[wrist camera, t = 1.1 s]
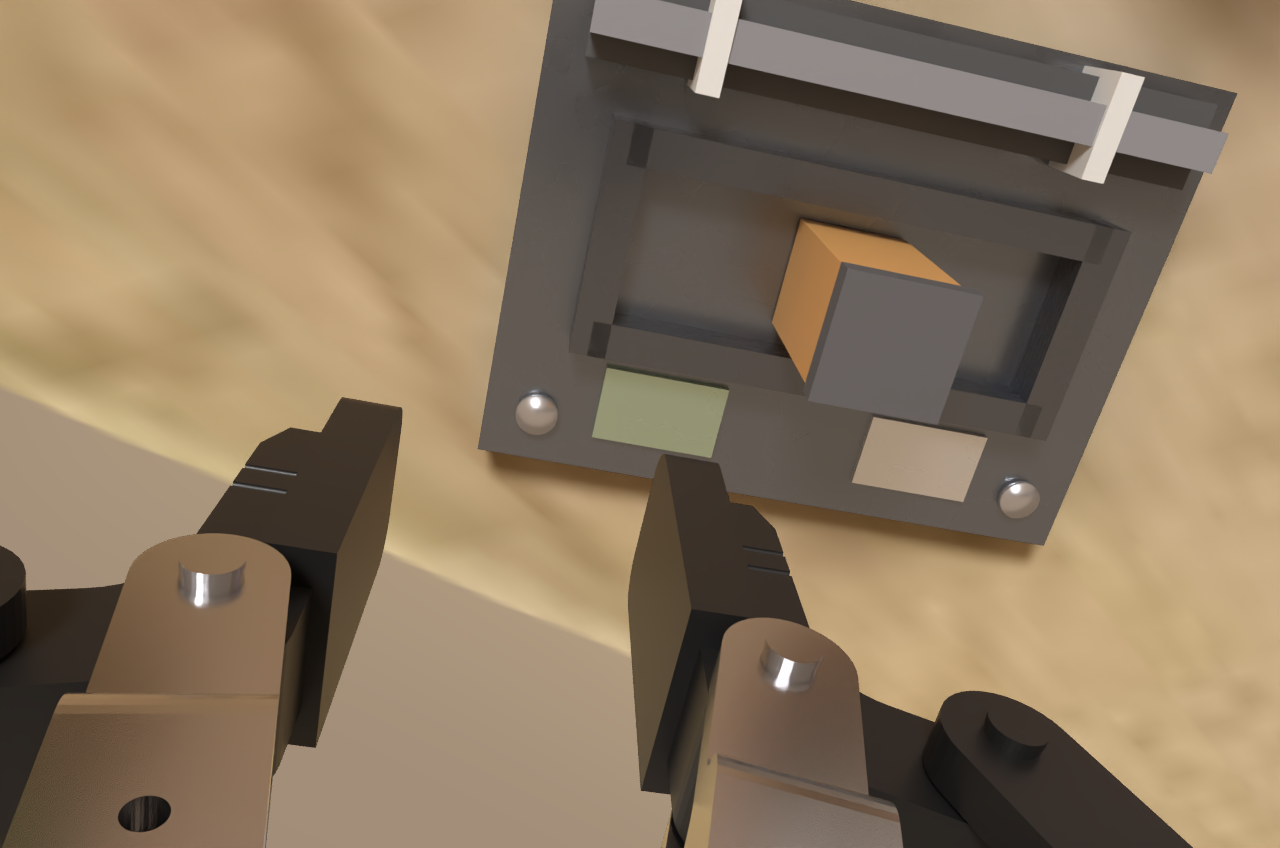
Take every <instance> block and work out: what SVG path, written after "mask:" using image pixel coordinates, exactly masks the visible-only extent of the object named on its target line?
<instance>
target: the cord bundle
mask: <svg viewBox="0 0 1280 848" xmlns="http://www.w3.org/2000/svg"><path fill="white" fill-rule="evenodd" d="M585 56H587V57H591V58H596V59H600V60H605V61H609V62H613V63H618V64H622V65H627V66H631V67H636V68H640V69H645V70H649V71H654V72H658V73H662V74H667V75H671V76H676V77H680V78H685V79H688V83H687V85H688V86H689V87H690V88H691V89H692V90H693V91H694V92H695V93H698V94H702V95H707V96H711V97H716V98H719V97H720V93H721V89H722V87H725V88H729V89H734V90H738V91H743V92H747V93H751V94H756V95H760V96H765V97H769V98H774V99H778V100H783V101H787V102H791V103H796V104H800V105H805V106H809V107H814V108H818V109H823V110H827V111H831V112H836V113H840V114H845V115H849V116H854V117H858V118H863V119H867V120H872V121H876V122H880V123H885V124H889V125H894V126H898V127H903V128H907V129H912V130H916V131H920V132H925V133H929V134H934V135H938V136H943V137H947V138H952V139H956V140H961V141H965V142H969V143H974V144H978V145H983V146H987V147H992V148H996V149H1001V150H1005V151H1009V152H1014V153H1018V154H1023V155H1027V156H1032V157H1036V158H1041V159H1045V160H1050V161H1049V164H1048V166H1050V167H1053V168H1055V169H1058V170H1060V171H1063V172H1065V173H1068V174H1070V175H1073V176H1075V177H1077V178H1080V179H1083V180H1088V181H1092V182H1097V183H1101V184H1103V183H1104V181H1105V178H1106V176H1107V174H1112V175H1116V176H1121V177H1125V178H1130V179H1134V180H1139V181H1143V182H1147V183H1152V184H1156V185H1161V186H1165V187H1170V188H1174V189H1179V190H1183V188H1184V185H1185V183H1186V181H1187V178H1188V176H1189V173H1190V171H1191V169H1193V170H1197V171H1202V172H1206V173H1210V174H1212V172H1213V169H1214V167H1215V165H1216V162H1217V160H1218V158H1219V155H1220V153H1221V151H1222V148H1223V146H1224V144H1225V141H1226V139H1227V137H1228V134H1227V133H1223V132H1219V131H1215V130H1211V129H1209V126H1210V124H1211V121H1212V119H1213V117H1214V114H1215V112H1216V110H1217V107H1218V105H1216V104H1212V103H1207V102H1203V101H1199V100H1195V99H1191V98H1186V97H1182V96H1178V95H1174V94H1170V93H1165V92H1161V91H1157V90H1153V89H1149V88H1144V87H1141V86H1142V84H1143V81H1144V79H1145V77H1141V76H1137V75H1133V74H1129V73H1124V72H1120V71H1114V70H1108V69H1102V68H1096V67H1091V66H1084V69H1083V71H1082V73H1081V72H1077V71H1073V70H1069V69H1065V68H1060V67H1056V66H1052V65H1048V64H1044V63H1039V62H1035V61H1031V60H1027V59H1023V58H1018V57H1014V56H1010V55H1006V54H1002V53H997V52H993V51H989V50H985V49H981V48H976V47H972V46H968V45H964V44H960V43H955V42H951V41H947V40H943V39H939V38H934V37H930V36H926V35H922V34H918V33H913V32H909V31H905V30H901V29H897V28H892V27H888V26H884V25H880V24H876V23H871V22H867V21H863V20H859V19H855V18H850V17H846V16H842V15H838V14H834V13H829V12H825V11H821V10H817V9H813V8H808V7H804V6H800V5H796V4H792V3H787V2H783V1H779V0H595V1H594V9H593V12H592V17H591V23H590V28H589V34H588V39H587V45H586V50H585Z"/></svg>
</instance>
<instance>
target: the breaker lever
mask: <svg viewBox="0 0 1280 848" xmlns="http://www.w3.org/2000/svg"><path fill="white" fill-rule="evenodd" d="M983 298H984V296H983V295H982V294H981V293H979V292H978V291H977V290H976V289H974V288H969V287H964V286H961V285H960V284H959V283H957V282H956V281H955V280H954V279H952V278H951V277H950V276H949V275H948V274H946V273H945V272H944V271H943V270H941V269H940V268H939V267H938V266H937V265H935V264H934V263H933V262H932V261H930V260H929V259H928V258H927V257H925V256H924V255H923V254H922V253H921V252H919V251H918V250H917V249H916V248H914V247H913V246H912V245H911V244H910V243H908V242H907V241H906V240H902V239H897V238H892V237H888V236H883V235H878V234H873V233H869V232H864V231H859V230H854V229H849V228H845V227H840V226H835V225H830V224H826V223H821V222H816V221H811V220H806V219H802V218H801V220H800V224H799V227H798V231H797V234H796V238H795V242H794V245H793V249H792V252H791V256H790V259H789V263H788V267H787V270H786V274H785V277H784V281H783V285H782V288H781V292H780V295H779V299H778V303H777V306H776V310H775V313H774V317H773V320H772V323H773V325H774V327H775V329H776V331H777V333H778V334H779V336H780V338H781V340H782V342H783V344H784V345H785V347H786V349H787V351H788V353H789V355H790V356H791V358H792V360H793V362H794V364H795V366H796V367H797V369H798V371H799V373H800V375H801V377H802V378H803V380H804V382H805V385H804V388H803V393H804V395H805V397H806V399H807V400H808V401H811V402H816V403H821V404H827V405H832V406H838V407H843V408H848V409H854V410H859V411H865V412H870V413H876V414H881V415H886V416H892V417H897V418H903V419H908V420H913V421H919V422H924V423H930V424H935V425H938V422H939V419H940V417H941V414H942V411H943V408H944V406H945V403H946V400H947V397H948V395H949V392H950V389H951V386H952V384H953V381H954V378H955V375H956V372H957V370H958V367H959V364H960V361H961V359H962V356H963V353H964V350H965V348H966V345H967V342H968V339H969V336H970V334H971V331H972V328H973V325H974V323H975V320H976V317H977V314H978V312H979V309H980V306H981V303H982V301H983Z"/></svg>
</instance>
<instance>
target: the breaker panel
mask: <svg viewBox="0 0 1280 848" xmlns="http://www.w3.org/2000/svg"><path fill="white" fill-rule="evenodd" d="M594 1H595V0H553V4H552V10H551V16H550V21H549V27H548V33H547V39H546V45H545V51H544V57H543V63H542V69H541V75H540V81H539V87H538V93H537V99H536V105H535V111H534V117H533V123H532V129H531V135H530V141H529V147H528V153H527V159H526V165H525V171H524V177H523V182H522V188H521V194H520V200H519V206H518V212H517V218H516V224H515V230H514V236H513V242H512V248H511V254H510V260H509V266H508V272H507V278H506V284H505V290H504V296H503V302H502V308H501V314H500V320H499V326H498V332H497V337H496V343H495V349H494V355H493V361H492V367H491V373H490V379H489V385H488V391H487V397H486V403H485V409H484V415H483V421H482V427H481V433H480V439H479V445H478V449H480V450H486V451H492V452H498V453H504V454H510V455H516V456H521V457H527V458H533V459H539V460H545V461H551V462H557V463H562V464H568V465H574V466H580V467H586V468H592V469H598V470H603V471H609V472H615V473H621V474H627V475H633V476H639V477H644V478H650V479H653V478H654V474H655V471H656V467H657V464H658V461H659V459H660V457H661V455H662V454H669V455H674V456H680V457H686V458H692V459H697V460H703V461H709V462H714V463H718V464H719V465H720V468H721V472H722V475H723V479H724V483H725V486H726V490H727V492H732V493H738V494H744V495H750V496H756V497H761V498H767V499H773V500H779V501H785V502H791V503H797V504H802V505H808V506H814V507H820V508H826V509H832V510H838V511H843V512H849V513H855V514H861V515H867V516H873V517H879V518H884V519H890V520H896V521H902V522H908V523H914V524H920V525H925V526H931V527H937V528H943V529H949V530H955V531H961V532H966V533H972V534H978V535H984V536H990V537H996V538H1002V539H1007V540H1013V541H1019V542H1025V543H1031V544H1037V545H1043V546H1044V544H1045V541H1046V539H1047V537H1048V534H1049V532H1050V530H1051V527H1052V525H1053V523H1054V520H1055V518H1056V516H1057V513H1058V511H1059V509H1060V506H1061V504H1062V502H1063V499H1064V497H1065V495H1066V492H1067V490H1068V488H1069V485H1070V483H1071V481H1072V478H1073V476H1074V474H1075V471H1076V469H1077V467H1078V464H1079V462H1080V460H1081V457H1082V455H1083V453H1084V450H1085V448H1086V446H1087V443H1088V441H1089V439H1090V436H1091V434H1092V432H1093V429H1094V427H1095V425H1096V422H1097V420H1098V418H1099V415H1100V413H1101V411H1102V408H1103V406H1104V404H1105V401H1106V399H1107V397H1108V394H1109V392H1110V390H1111V387H1112V385H1113V383H1114V380H1115V378H1116V376H1117V373H1118V371H1119V369H1120V366H1121V364H1122V362H1123V359H1124V357H1125V355H1126V352H1127V350H1128V348H1129V345H1130V343H1131V341H1132V338H1133V336H1134V334H1135V331H1136V329H1137V327H1138V324H1139V322H1140V320H1141V317H1142V315H1143V313H1144V310H1145V308H1146V306H1147V303H1148V301H1149V299H1150V296H1151V294H1152V292H1153V289H1154V287H1155V285H1156V282H1157V280H1158V278H1159V275H1160V273H1161V271H1162V268H1163V266H1164V264H1165V261H1166V259H1167V257H1168V254H1169V252H1170V250H1171V247H1172V245H1173V243H1174V240H1175V238H1176V236H1177V233H1178V231H1179V229H1180V226H1181V224H1182V222H1183V219H1184V217H1185V215H1186V212H1187V210H1188V208H1189V205H1190V203H1191V201H1192V198H1193V196H1194V194H1195V191H1196V189H1197V187H1198V184H1199V182H1200V180H1201V177H1202V175H1203V173H1204V172H1202V171H1197V170H1193V169H1191V171H1190V173H1189V176H1188V178H1187V181H1186V183H1185V185H1184V188H1183V190H1179V189H1174V188H1170V187H1165V186H1161V185H1156V184H1152V183H1147V182H1143V181H1139V180H1134V179H1130V178H1125V177H1121V176H1116V175H1112V174H1107V176H1106V178H1105V181H1104V183H1103V184H1101V183H1097V182H1092V181H1088V180H1083V179H1080V178H1077V177H1075V176H1073V175H1070V174H1068V173H1065V172H1063V171H1060V170H1058V169H1055V168H1053V167H1050V166H1048V164H1049V161H1050V160H1045V159H1041V158H1036V157H1032V156H1027V155H1023V154H1018V153H1014V152H1009V151H1005V150H1001V149H996V148H992V147H987V146H983V145H978V144H974V143H969V142H965V141H961V140H956V139H952V138H947V137H943V136H938V135H934V134H929V133H925V132H920V131H916V130H912V129H907V128H903V127H898V126H894V125H889V124H885V123H880V122H876V121H872V120H867V119H863V118H858V117H854V116H849V115H845V114H840V113H836V112H831V111H827V110H823V109H818V108H814V107H809V106H805V105H800V104H796V103H791V102H787V101H783V100H778V99H774V98H769V97H765V96H760V95H756V94H751V93H747V92H743V91H738V90H734V89H729V88H725V87H722V89H721V93H720V97H719V98H716V97H711V96H707V95H702V94H698V93H695V92H694V91H693V90H692V89H691V88H690V87H689V86H688V85H687V83H688V79H685V78H680V77H676V76H671V75H667V74H662V73H658V72H654V71H649V70H645V69H640V68H636V67H631V66H627V65H622V64H618V63H613V62H609V61H605V60H600V59H596V58H591V57H587V56H585V50H586V45H587V39H588V34H589V28H590V23H591V17H592V12H593V9H594ZM779 1H783V2H787V3H792V4H796V5H800V6H804V7H808V8H813V9H817V10H821V11H825V12H829V13H834V14H838V15H842V16H846V17H850V18H855V19H859V20H863V21H867V22H871V23H876V24H880V25H884V26H888V27H892V28H897V29H901V30H905V31H909V32H913V33H918V34H922V35H926V36H930V37H934V38H939V39H943V40H947V41H951V42H955V43H960V44H964V45H968V46H972V47H976V48H981V49H985V50H989V51H993V52H997V53H1002V54H1006V55H1010V56H1014V57H1018V58H1023V59H1027V60H1031V61H1035V62H1039V63H1044V64H1048V65H1052V66H1056V67H1060V68H1065V69H1069V70H1073V71H1077V72H1081V73H1082V71H1083V69H1084V66H1091V67H1096V68H1102V69H1108V70H1114V71H1120V72H1124V73H1129V74H1133V75H1137V76H1141V77H1145V79H1144V81H1143V84H1142V86H1141V87H1144V88H1149V89H1153V90H1157V91H1161V92H1165V93H1170V94H1174V95H1178V96H1182V97H1186V98H1191V99H1195V100H1199V101H1203V102H1207V103H1212V104H1216V105H1218V107H1217V110H1216V112H1215V114H1214V117H1213V119H1212V121H1211V124H1210V126H1209V129H1211V130H1215V131H1219V132H1221V131H1222V128H1223V126H1224V124H1225V121H1226V119H1227V117H1228V114H1229V112H1230V110H1231V107H1232V105H1233V103H1234V100H1235V98H1236V96H1237V93H1233V92H1229V91H1225V90H1221V89H1217V88H1213V87H1208V86H1204V85H1200V84H1196V83H1192V82H1188V81H1184V80H1179V79H1175V78H1171V77H1167V76H1163V75H1159V74H1154V73H1150V72H1146V71H1142V70H1138V69H1134V68H1129V67H1125V66H1121V65H1117V64H1113V63H1109V62H1104V61H1100V60H1096V59H1092V58H1088V57H1084V56H1080V55H1075V54H1071V53H1067V52H1063V51H1059V50H1055V49H1050V48H1046V47H1042V46H1038V45H1034V44H1030V43H1025V42H1021V41H1017V40H1013V39H1009V38H1005V37H1001V36H996V35H992V34H988V33H984V32H980V31H976V30H971V29H967V28H963V27H959V26H955V25H951V24H946V23H942V22H938V21H934V20H930V19H926V18H921V17H917V16H913V15H909V14H905V13H901V12H897V11H892V10H888V9H884V8H880V7H876V6H872V5H867V4H863V3H859V2H855V1H851V0H779ZM801 218H802V219H806V220H811V221H816V222H821V223H826V224H830V225H835V226H840V227H845V228H849V229H854V230H859V231H864V232H869V233H873V234H878V235H883V236H888V237H892V238H897V239H902V240H906V241H907V242H908V243H910V244H911V245H912V246H913V247H914V248H916V249H917V250H918V251H919V252H921V253H922V254H923V255H924V256H925V257H927V258H928V259H929V260H930V261H932V262H933V263H934V264H935V265H937V266H938V267H939V268H940V269H941V270H943V271H944V272H945V273H946V274H948V275H949V276H950V277H951V278H952V279H954V280H955V281H956V282H957V283H959V284H960V285H961V286H964V287H969V288H974V289H976V290H977V291H978V292H979V293H981V294H982V295H983V296H984V298H983V301H982V303H981V306H980V309H979V312H978V314H977V317H976V320H975V323H974V325H973V328H972V331H971V334H970V336H969V339H968V342H967V345H966V348H965V350H964V353H963V356H962V359H961V361H960V364H959V367H958V370H957V372H956V375H955V378H954V381H953V384H952V386H951V389H950V392H949V395H948V397H947V400H946V403H945V406H944V408H943V411H942V414H941V417H940V419H939V422H938V425H935V424H930V423H924V422H919V421H913V420H908V419H903V418H897V417H892V416H886V415H881V414H876V413H870V412H865V411H859V410H854V409H848V408H843V407H838V406H832V405H827V404H821V403H816V402H811V401H808V400H807V399H806V397H805V395H804V393H803V388H804V385H805V382H804V380H803V378H802V377H801V375H800V373H799V371H798V369H797V367H796V366H795V364H794V362H793V360H792V358H791V356H790V355H789V353H788V351H787V349H786V347H785V345H784V344H783V342H782V340H781V338H780V336H779V334H778V333H777V331H776V329H775V327H774V325H773V323H772V320H773V317H774V313H775V310H776V306H777V303H778V299H779V295H780V292H781V288H782V285H783V281H784V277H785V274H786V270H787V267H788V263H789V259H790V256H791V252H792V249H793V245H794V242H795V238H796V234H797V231H798V227H799V224H800V220H801Z"/></svg>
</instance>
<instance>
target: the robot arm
mask: <svg viewBox="0 0 1280 848" xmlns="http://www.w3.org/2000/svg"><path fill="white" fill-rule="evenodd" d="M401 426H402V408H401V407H395V406H390V405H384V404H378V403H372V402H367V401H361V400H355V399H349V398H344V397H342V398H341V399H340V401H339V403H338V404H337V406H336V408H335V409H334V411H333V413H332V415H331V416H330V418H329V420H328V422H327V423H326V425H325V427H324V428H323V430H322V432H321V433H320V432H314V431H308V430H302V429H296V428H289V429H287V430H285V431H283V432H281V433H279V434H277V435H275V436H273V437H271V438H269V439H267V440H265V441H263V442H261V443H260V444H259V445H258V447H257V448H256V450H255V451H254V452H253V454H252V455H251V457H250V458H249V460H248V461H247V462H246V464H245V468H242V470H241V471H240V472H239V474H238V475H237V477H236V478H235V480H234V481H233V486H230V487H229V488H228V490H227V491H226V493H225V494H224V495H223V497H222V498H221V500H220V501H219V503H218V504H217V506H216V507H215V508H214V510H213V511H212V513H211V514H210V515H209V517H208V518H207V520H206V521H205V523H204V524H203V525H202V527H201V528H200V530H199V531H198V533H197V534H193V535H187V536H182V537H178V538H173V539H170V540H167V541H164V542H162V543H159V544H157V545H155V546H153V547H151V548H149V549H147V550H146V551H144V552H143V553H142V554H140V555H139V556H138V557H137V558H136V559H135V561H134V562H133V563H132V565H131V567H130V569H129V571H128V574H127V577H126V580H125V583H123V584H118V585H112V586H105V587H96V588H79V589H55V590H29V591H26V571H25V568H24V565H23V563H22V561H21V560H20V558H19V557H18V556H16V555H15V554H14V553H13V552H12V551H10V550H8V549H6V548H4V547H2V546H0V848H266V840H267V830H268V820H269V809H270V800H271V789H272V777H273V775H274V774H275V773H276V771H277V769H278V767H279V765H280V762H281V760H282V757H283V755H284V752H285V749H286V747H287V744H291V745H299V746H306V747H314V748H315V747H316V745H317V742H318V739H319V737H320V734H321V731H322V728H323V725H324V722H325V719H326V717H327V714H328V711H329V708H330V705H331V702H332V699H333V697H334V693H335V691H336V688H337V685H338V682H339V679H340V676H341V673H342V670H343V668H344V665H345V662H346V659H347V656H348V654H349V651H350V648H351V645H352V642H353V639H354V636H355V634H356V631H357V628H358V625H359V622H360V619H361V617H362V614H363V611H364V608H365V605H366V602H367V599H368V596H369V594H370V591H371V588H372V585H373V582H374V579H375V576H376V574H377V570H378V568H379V565H380V561H381V557H382V553H383V549H384V544H385V540H386V534H387V529H388V523H389V516H390V509H391V501H392V494H393V486H394V479H395V471H396V464H397V456H398V449H399V441H400V434H401ZM789 573H790V570H789V567H788V564H787V562H786V559H785V557H783V550H782V547H781V544H780V541H779V539H778V536H777V533H776V530H775V528H774V527H773V526H772V525H771V524H770V523H769V522H768V521H767V520H766V519H765V518H764V517H763V516H762V515H761V514H760V513H759V512H758V511H757V510H756V509H755V508H754V507H753V506H749V505H743V504H737V503H731V502H730V501H729V497H728V493H727V490H726V486H725V483H724V479H723V475H722V472H721V468H720V465H719V464H718V463H714V462H709V461H703V460H697V459H692V458H686V457H680V456H674V455H669V454H662V455H661V457H660V459H659V461H658V464H657V467H656V471H655V474H654V478H653V482H652V486H651V491H650V495H649V499H648V503H647V507H646V511H645V515H644V519H643V523H642V527H641V531H640V535H639V539H638V543H637V547H636V551H635V556H634V560H633V565H632V570H631V576H630V584H629V593H628V613H629V627H630V641H631V656H632V668H633V669H632V670H633V684H634V698H635V713H636V727H637V742H638V756H639V770H640V785H641V791H648V792H656V793H664V794H671V802H672V812H671V815H670V819H669V822H668V825H667V829H666V832H665V835H664V838H663V842H662V845H661V848H1193V847H1192V846H1191V845H1189V844H1188V843H1187V842H1186V841H1185V840H1184V839H1183V838H1182V837H1181V836H1180V835H1178V834H1177V833H1176V832H1175V831H1174V830H1173V829H1172V828H1171V827H1170V826H1168V825H1167V824H1166V823H1165V822H1164V821H1163V820H1162V819H1161V818H1160V817H1159V816H1157V815H1156V814H1155V813H1154V812H1153V811H1152V810H1151V809H1150V808H1149V807H1148V806H1146V805H1145V804H1144V803H1143V802H1142V801H1141V800H1140V799H1139V798H1138V797H1137V796H1135V795H1134V794H1133V793H1132V792H1131V791H1130V790H1129V789H1128V788H1127V787H1126V786H1124V785H1123V784H1122V783H1121V782H1120V781H1119V780H1118V779H1117V778H1116V777H1114V776H1113V775H1112V774H1111V773H1110V772H1109V771H1108V770H1107V769H1106V768H1105V767H1103V766H1102V765H1101V764H1100V763H1099V762H1098V761H1097V760H1096V759H1095V758H1094V757H1092V756H1091V755H1090V754H1089V753H1088V752H1087V751H1086V750H1085V749H1084V748H1083V747H1081V746H1080V745H1079V744H1078V743H1077V742H1076V741H1075V740H1074V739H1073V738H1072V737H1070V736H1069V735H1068V734H1067V733H1066V732H1065V731H1064V730H1063V729H1062V728H1060V727H1059V726H1058V725H1057V724H1055V723H1054V722H1053V721H1052V720H1050V719H1049V718H1047V717H1046V716H1044V715H1043V714H1041V713H1040V712H1038V711H1036V710H1035V709H1033V708H1031V707H1029V706H1027V705H1025V704H1023V703H1021V702H1019V701H1016V700H1013V699H1011V698H1008V697H1005V696H1001V695H998V694H994V693H989V692H982V691H965V692H960V693H956V694H954V695H952V696H950V697H948V698H947V699H946V700H945V701H944V702H943V705H942V707H941V709H940V711H939V714H938V716H937V718H936V721H935V722H933V721H930V720H927V719H924V718H921V717H919V716H916V715H913V714H910V713H908V712H905V711H902V710H899V709H897V708H894V707H891V706H888V705H886V704H883V703H881V702H878V701H876V700H874V699H872V698H870V697H868V696H866V695H864V694H862V693H861V692H859V682H858V675H857V671H856V668H855V666H854V664H853V662H852V661H851V659H850V658H849V657H848V655H847V654H846V653H845V652H844V651H843V650H842V649H841V648H840V647H839V646H837V645H836V644H835V643H834V642H833V641H831V640H830V639H828V638H827V637H825V636H824V635H822V634H820V633H818V632H816V631H814V630H812V629H810V628H809V625H808V622H807V619H806V616H805V614H804V611H803V608H802V605H801V602H800V599H799V596H798V593H797V590H796V588H795V585H794V582H793V579H792V576H789Z"/></svg>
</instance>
